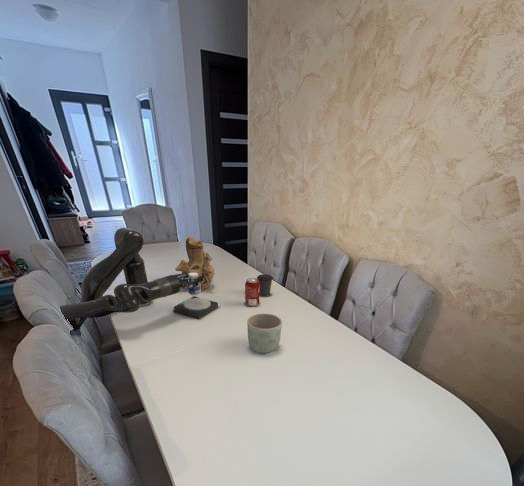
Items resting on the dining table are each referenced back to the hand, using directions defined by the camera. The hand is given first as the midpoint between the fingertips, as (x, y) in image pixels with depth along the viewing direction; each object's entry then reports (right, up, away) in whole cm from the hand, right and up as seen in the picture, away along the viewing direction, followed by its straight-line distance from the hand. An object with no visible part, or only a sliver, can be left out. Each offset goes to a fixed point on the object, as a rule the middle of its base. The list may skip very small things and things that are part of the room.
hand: (198, 276), depth 134 cm
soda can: (+23, -10, +13) cm, 29 cm away
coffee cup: (+29, -4, +23) cm, 38 cm away
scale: (-2, -14, +6) cm, 15 cm away
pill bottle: (-2, -7, +2) cm, 8 cm away
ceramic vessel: (-5, 0, +28) cm, 29 cm away
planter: (+29, -31, -19) cm, 47 cm away
